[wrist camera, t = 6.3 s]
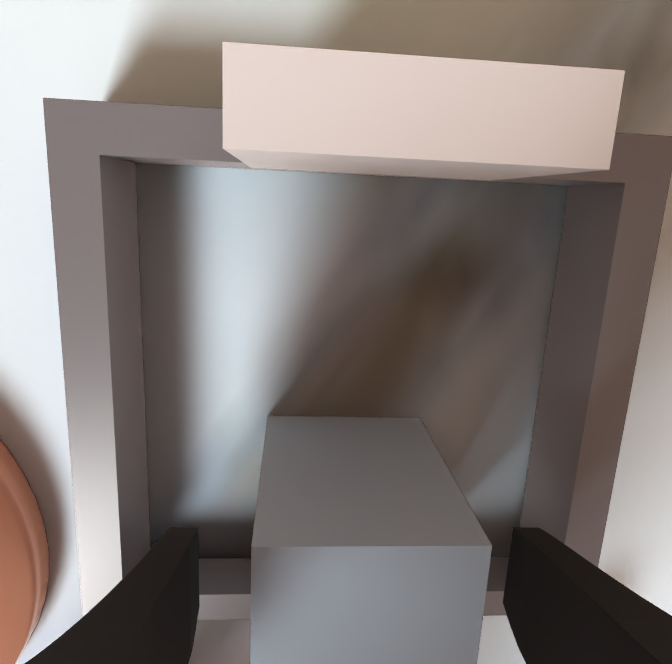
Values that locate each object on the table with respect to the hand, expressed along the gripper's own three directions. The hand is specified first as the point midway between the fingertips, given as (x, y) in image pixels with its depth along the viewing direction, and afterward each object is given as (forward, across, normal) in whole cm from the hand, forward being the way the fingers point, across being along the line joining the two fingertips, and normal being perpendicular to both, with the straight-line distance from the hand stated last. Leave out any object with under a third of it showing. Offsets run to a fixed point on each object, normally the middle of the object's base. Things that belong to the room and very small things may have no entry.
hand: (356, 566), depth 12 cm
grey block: (+4, 0, 0) cm, 4 cm away
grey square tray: (+4, 0, -3) cm, 5 cm away
